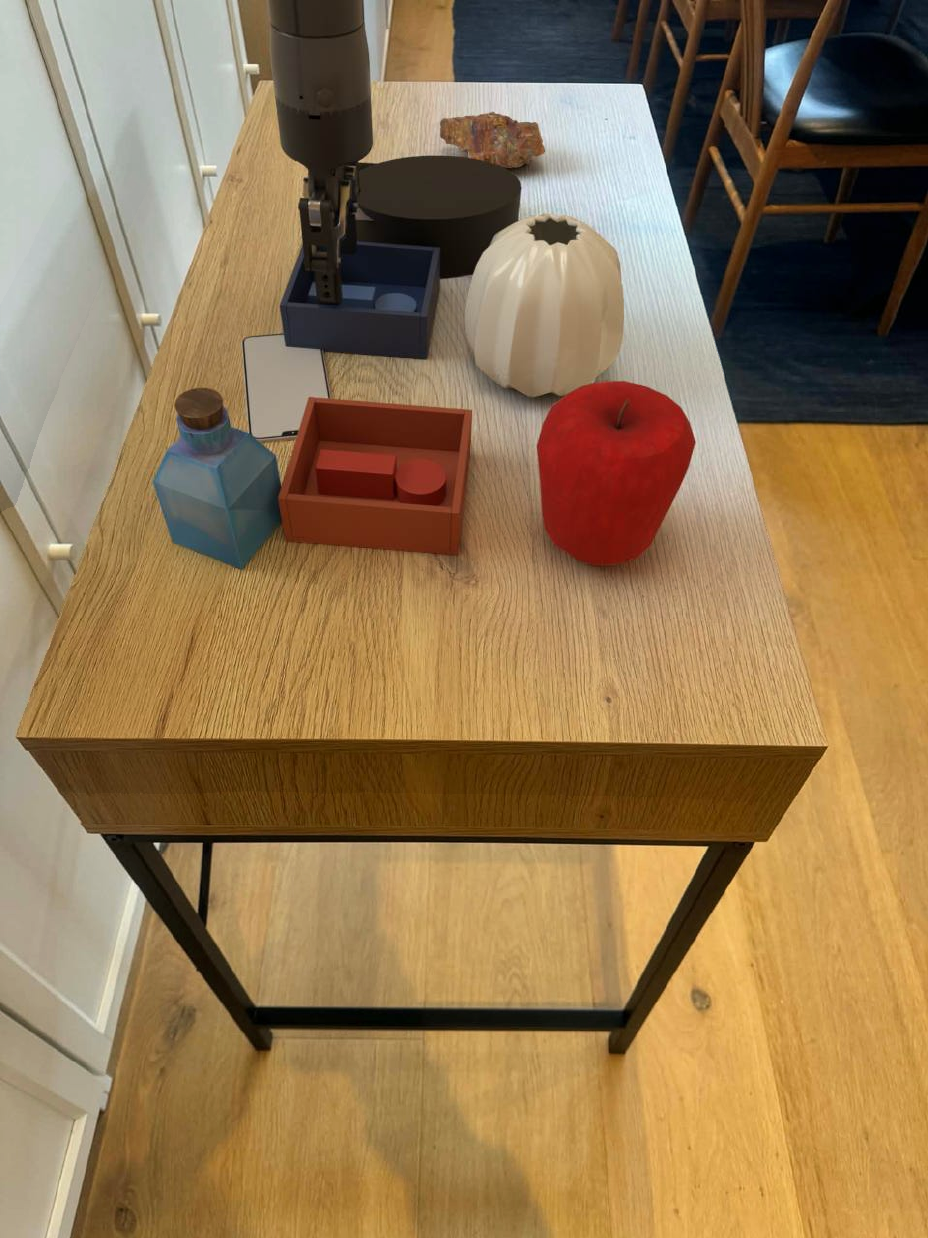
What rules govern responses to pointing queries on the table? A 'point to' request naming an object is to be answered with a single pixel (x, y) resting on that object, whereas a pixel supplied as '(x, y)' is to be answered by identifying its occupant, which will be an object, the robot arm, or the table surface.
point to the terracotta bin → (408, 438)
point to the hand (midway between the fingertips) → (338, 276)
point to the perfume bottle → (217, 483)
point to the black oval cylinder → (437, 206)
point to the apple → (611, 469)
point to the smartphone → (280, 385)
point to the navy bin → (361, 326)
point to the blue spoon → (369, 299)
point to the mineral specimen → (494, 138)
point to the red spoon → (380, 477)
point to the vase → (546, 306)
